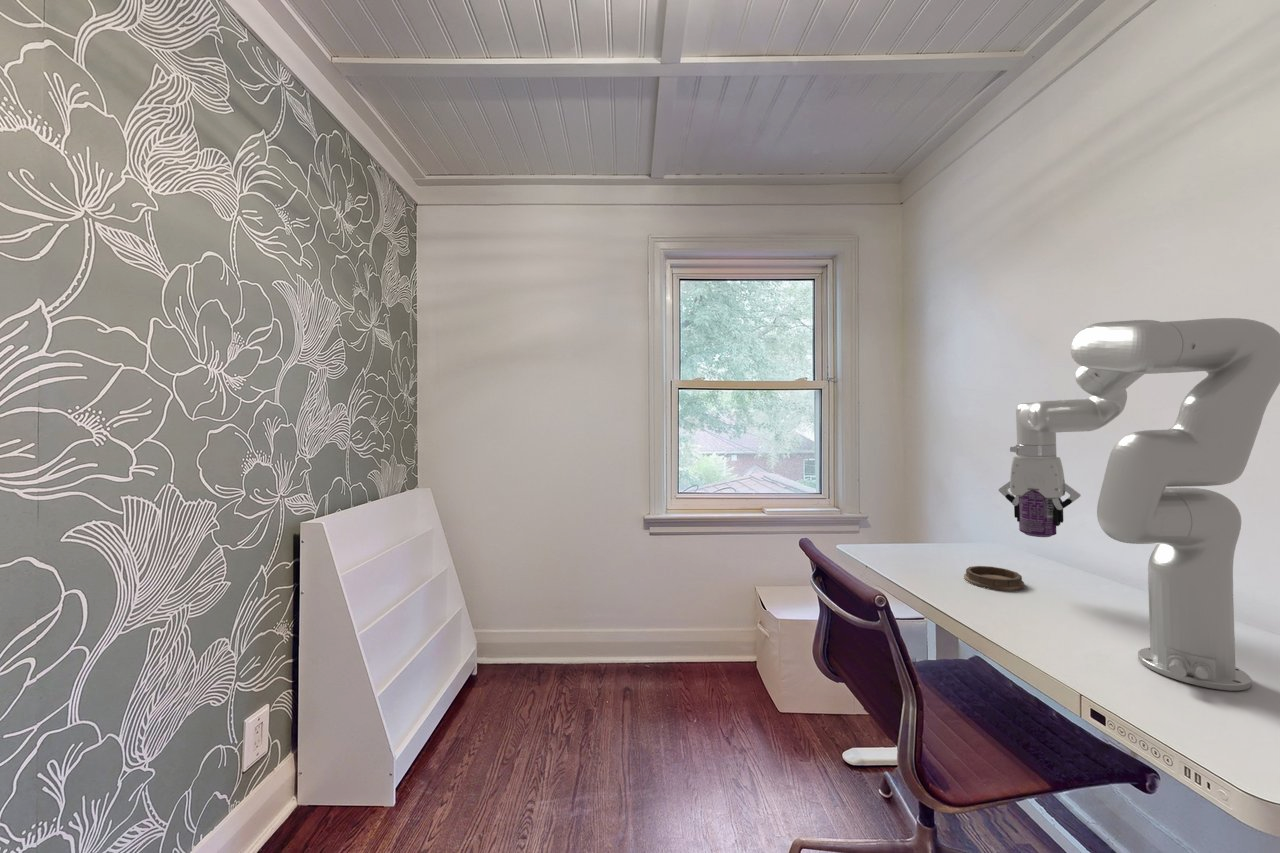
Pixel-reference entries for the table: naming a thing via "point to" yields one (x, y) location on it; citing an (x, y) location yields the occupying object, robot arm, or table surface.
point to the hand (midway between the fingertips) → (1038, 522)
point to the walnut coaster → (994, 578)
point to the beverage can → (1036, 514)
